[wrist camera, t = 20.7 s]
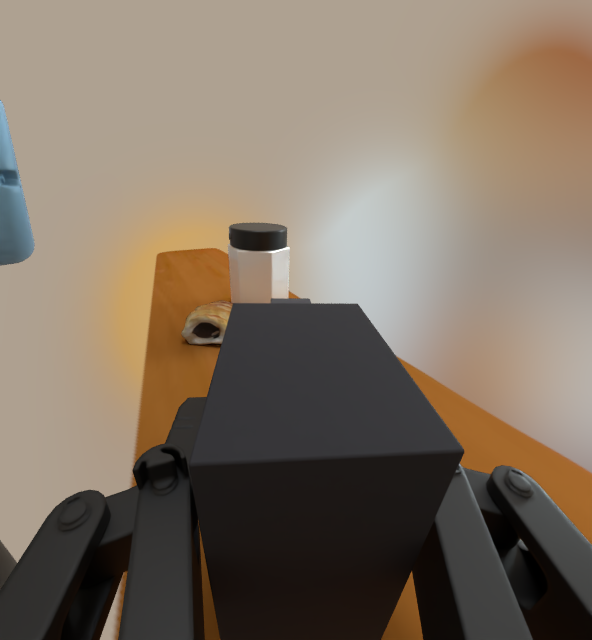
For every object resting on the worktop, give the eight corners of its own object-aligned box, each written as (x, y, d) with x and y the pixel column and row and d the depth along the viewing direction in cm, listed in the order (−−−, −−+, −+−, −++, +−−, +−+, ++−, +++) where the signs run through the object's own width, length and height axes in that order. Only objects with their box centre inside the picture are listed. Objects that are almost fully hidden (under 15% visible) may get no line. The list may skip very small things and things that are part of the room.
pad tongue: (375, 653, 10) (467, 451, 5) (226, 672, 9) (186, 465, 5) (323, 425, 19) (340, 279, 14) (246, 428, 18) (239, 278, 14)
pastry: (207, 312, 42) (204, 288, 40) (252, 315, 41) (251, 291, 40) (179, 345, 33) (174, 316, 31) (236, 349, 33) (234, 320, 31)
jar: (256, 291, 50) (255, 220, 45) (296, 302, 47) (299, 226, 41) (220, 308, 43) (213, 226, 38) (263, 321, 40) (262, 233, 34)
